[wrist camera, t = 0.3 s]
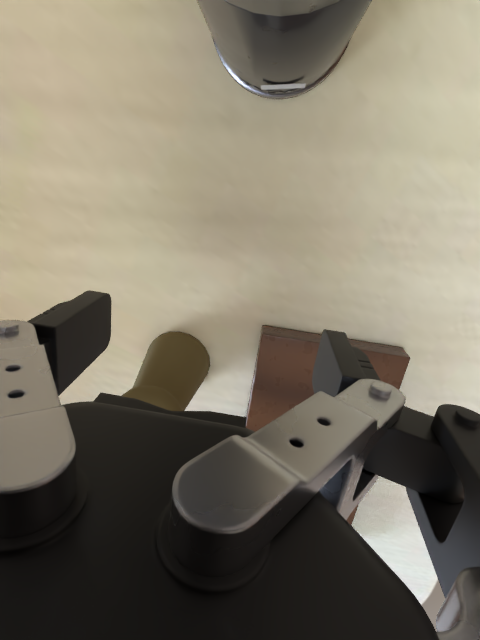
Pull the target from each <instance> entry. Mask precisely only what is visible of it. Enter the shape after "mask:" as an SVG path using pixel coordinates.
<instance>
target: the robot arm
mask: <svg viewBox="0 0 480 640" xmlns="http://www.w3.org/2000/svg"><path fill="white" fill-rule="evenodd" d="M371 1H372V0H197V2H198V4H199V7H200V9H201V11H202V13H203V16H204V18H205V20H206V23H207V25H208V27H209V30H210V32H211V34H212V37H213V41H214V44H215V47H216V50H217V52H218V54H219V57H220V59H221V61H222V63H223V65H224V66H225V68H226V70H227V71H228V72H229V74H230V75H231V76H232V77H233V78H234V80H235V81H236V82H237V83H239V84H240V85H241V86H242V87H244V88H245V89H246V90H248V91H250V92H251V93H254V94H256V95H258V96H261V97H265V98H270V99H286V98H292V97H296V96H298V95H301V94H304V93H306V92H308V91H310V90H311V89H313V88H314V87H316V86H317V85H318V84H320V83H321V82H322V81H323V80H324V79H325V78H326V77H327V76H328V75H329V74H330V73H331V72H332V71H333V69H334V68H335V67H336V65H337V64H338V62H339V61H340V59H341V57H342V56H343V54H344V52H345V50H346V48H347V46H348V43H349V41H350V39H351V37H352V35H353V33H354V31H355V30H356V28H357V26H358V24H359V22H360V21H361V19H362V17H363V15H364V13H365V12H366V10H367V8H368V6H369V4H370V3H371ZM110 336H111V297H110V295H109V294H107V293H101V292H95V291H86V292H84V293H83V294H81V295H79V296H78V297H76V298H74V299H72V300H71V301H67V302H63V303H60V304H57V305H56V306H54V307H52V308H50V310H47V311H45V312H43V314H40V315H38V316H36V317H34V318H33V319H31V320H29V321H27V322H26V321H20V320H3V321H0V640H480V414H478V413H476V412H474V411H472V410H469V409H467V408H464V407H461V406H457V405H451V404H444V405H441V406H439V407H438V409H437V411H436V414H435V416H434V417H433V416H430V415H427V414H424V413H421V412H418V411H415V410H413V409H410V408H408V407H406V406H404V404H405V400H406V399H405V396H404V395H403V393H402V392H401V391H400V390H398V389H397V388H395V387H394V386H392V385H390V384H388V383H385V382H382V381H381V380H380V378H379V377H378V375H377V373H376V371H375V370H374V367H373V366H372V364H371V363H370V360H369V358H368V356H367V355H366V354H365V353H364V352H362V351H361V350H360V349H359V348H357V347H352V346H351V344H350V342H349V340H348V338H347V336H346V334H345V333H344V332H338V331H332V330H326V329H325V330H324V331H323V333H322V336H321V340H320V344H319V348H318V352H317V356H316V360H315V364H314V368H313V375H312V385H313V390H314V395H313V396H311V397H309V398H308V399H306V400H305V401H303V402H302V403H300V404H298V405H297V406H295V407H294V408H292V409H291V410H289V411H287V412H286V413H284V414H283V415H281V416H280V417H278V418H277V419H275V420H273V421H272V422H270V423H269V424H267V425H266V426H264V427H262V428H261V429H259V430H258V431H256V432H255V431H253V430H251V429H248V428H246V420H247V418H246V417H240V416H234V415H228V414H223V413H217V412H211V411H170V410H167V409H164V408H161V407H158V406H155V405H152V404H150V403H147V402H144V401H141V400H138V399H135V398H129V397H123V396H117V395H111V394H106V393H100V394H99V395H98V397H97V398H96V399H95V400H94V402H77V403H70V404H65V405H61V404H60V400H59V397H58V396H59V395H60V394H61V393H62V392H63V391H64V390H65V389H66V388H67V387H68V386H69V385H70V384H71V383H72V382H73V381H74V380H75V379H76V378H77V377H78V376H79V375H80V374H81V373H82V372H83V371H84V370H85V369H86V368H87V367H88V366H89V365H90V364H91V363H92V362H93V361H94V360H95V359H96V358H97V357H98V356H99V355H100V354H101V353H102V352H103V351H104V350H105V349H106V348H107V346H108V344H109V341H110ZM378 476H381V477H383V478H386V479H388V480H391V481H393V482H395V483H398V484H400V485H403V486H405V487H406V491H407V494H408V497H409V500H410V503H411V505H412V508H413V511H414V514H415V516H416V519H417V522H418V525H419V527H420V530H421V533H422V536H423V538H424V541H425V544H426V547H427V549H428V552H429V555H430V558H431V560H432V563H433V566H434V569H435V572H436V574H437V577H438V580H439V583H440V585H441V588H442V591H443V593H444V596H445V601H444V603H443V605H442V606H441V608H440V610H439V612H438V614H437V618H436V629H437V632H436V631H435V629H434V627H433V624H432V623H431V621H430V619H429V617H428V616H427V614H426V612H425V610H424V609H423V607H422V606H421V604H420V603H419V601H418V600H417V599H416V597H415V596H414V594H413V593H412V592H411V591H410V590H409V589H408V587H407V586H406V585H405V584H404V583H403V582H402V580H401V579H400V578H399V577H398V576H397V575H396V574H395V573H394V572H393V571H392V570H391V569H390V567H389V566H388V565H387V564H386V563H385V562H384V561H383V560H382V559H381V558H380V557H379V555H378V554H377V553H376V552H375V551H374V550H373V549H372V548H371V547H370V546H369V545H368V544H367V542H366V541H365V540H364V539H363V538H362V537H361V536H360V535H359V534H358V533H357V532H356V530H355V529H354V528H353V527H352V526H351V525H350V524H349V523H348V522H347V521H346V520H347V518H348V517H349V515H350V514H351V512H352V511H353V510H354V509H355V507H356V506H357V505H358V504H359V502H360V501H361V500H362V498H363V497H364V496H365V495H366V493H367V492H368V491H369V489H370V488H371V487H372V486H373V484H374V483H375V482H376V480H377V479H378Z"/></svg>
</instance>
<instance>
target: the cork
mask: <svg viewBox="0 0 480 640" xmlns="http://www.w3.org/2000/svg"><path fill="white" fill-rule="evenodd" d="M209 367H210V361H209V355H208V353H207V350H206V348H205V347H204V346H203V345H202V343H201V342H200V341H199V340H197V339H196V338H194V337H193V336H191V335H189V334H185V333H182V332H168V333H165V334H162V335H160V336H159V337H158V338H156V339H155V340H154V341H153V342H152V344H151V345H150V347H149V349H148V351H147V354H146V356H145V359H144V361H143V364H142V366H141V369H140V371H139V374H138V376H137V378H136V381H135V383H134V386H133V388H132V389H130V390H129V391H127V392H126V393H125V394H123V395H122V396H123V397H129V398H135V399H138V400H141V401H144V402H147V403H150V404H152V405H155V406H158V407H161V408H164V409H167V410H170V411H184V410H185V409H186V407H187V405H188V404H189V402H190V401H191V399H192V398H193V396H194V394H195V393H196V391H197V390H198V388H199V387H200V385H201V383H202V382H203V380H204V379H205V377H206V375H207V374H208V371H209Z"/></svg>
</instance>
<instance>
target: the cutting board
mask: <svg viewBox="0 0 480 640" xmlns="http://www.w3.org/2000/svg"><path fill="white" fill-rule="evenodd" d="M321 336H322V335H320V334H314V333H308V332H301V331H295V330H289V329H283V328H276V327H270V326H264V325H263V326H262V331H261V337H260V343H259V348H258V354H257V360H256V365H255V371H254V377H253V383H252V388H251V394H250V400H249V405H248V411H247V417H246V418H247V420H246V428H248V429H251V430H253V431H255V432H256V431H258V430H259V429H261V428H262V427H264V426H266V425H267V424H269V423H270V422H272V421H273V420H275V419H277V418H278V417H280V416H281V415H283V414H284V413H286V412H287V411H289V410H291V409H292V408H294V407H295V406H297V405H298V404H300V403H302V402H303V401H305V400H306V399H308V398H309V397H311V396H313V395H314V390H313V385H312V375H313V368H314V364H315V360H316V356H317V352H318V348H319V344H320V340H321ZM348 340H349V342H350V344H351V346H352V347H357V348H359V349H360V350H361V351H362V352H364V353H365V354H366V355H367V356H368V358H369V360H370V363H371V364H372V366H373V367H374V370H375V371H376V373H377V375H378V377H379V378H380V380H381V381H382V382H385V383H388V384H390V385H392V386H394V387H395V388H397V389H398V390H399V388H400V386H401V383H402V380H403V377H404V374H405V371H406V369H407V366H408V363H409V360H410V357H409V356H408V354H407V353H406V352H405V350H404V349H403V348H401V347H395V346H389V345H382V344H376V343H370V342H364V341H357V340H351V339H348ZM357 507H358V505H357V506H356V507H355V509H354V510H353V511H352V512H351V514H350V515H349V517H348V518H347V520H346V521H347V522H348V523H349V524H350V525H351V524H352V521H353V519H354V516H355V513H356V510H357Z"/></svg>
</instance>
